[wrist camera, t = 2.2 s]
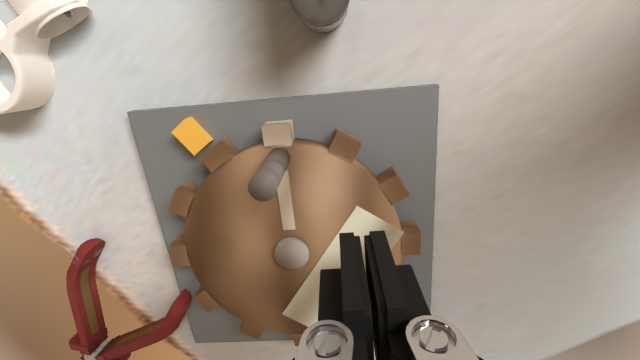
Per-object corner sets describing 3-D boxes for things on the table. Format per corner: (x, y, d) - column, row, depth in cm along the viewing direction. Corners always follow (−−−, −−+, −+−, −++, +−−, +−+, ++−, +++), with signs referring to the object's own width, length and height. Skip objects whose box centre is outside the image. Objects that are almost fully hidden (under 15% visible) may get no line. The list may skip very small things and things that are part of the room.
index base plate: (435, 84, 24) (444, 86, 22) (427, 329, 32) (432, 345, 31) (133, 110, 26) (117, 114, 24) (198, 336, 34) (190, 352, 32)
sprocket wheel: (416, 109, 24) (454, 131, 16) (413, 325, 31) (438, 409, 24) (150, 131, 25) (73, 161, 18) (206, 332, 33) (167, 413, 25)
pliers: (45, 354, 37) (22, 375, 34) (95, 228, 30) (71, 242, 28) (132, 403, 38) (116, 426, 35) (200, 291, 31) (186, 310, 28)
